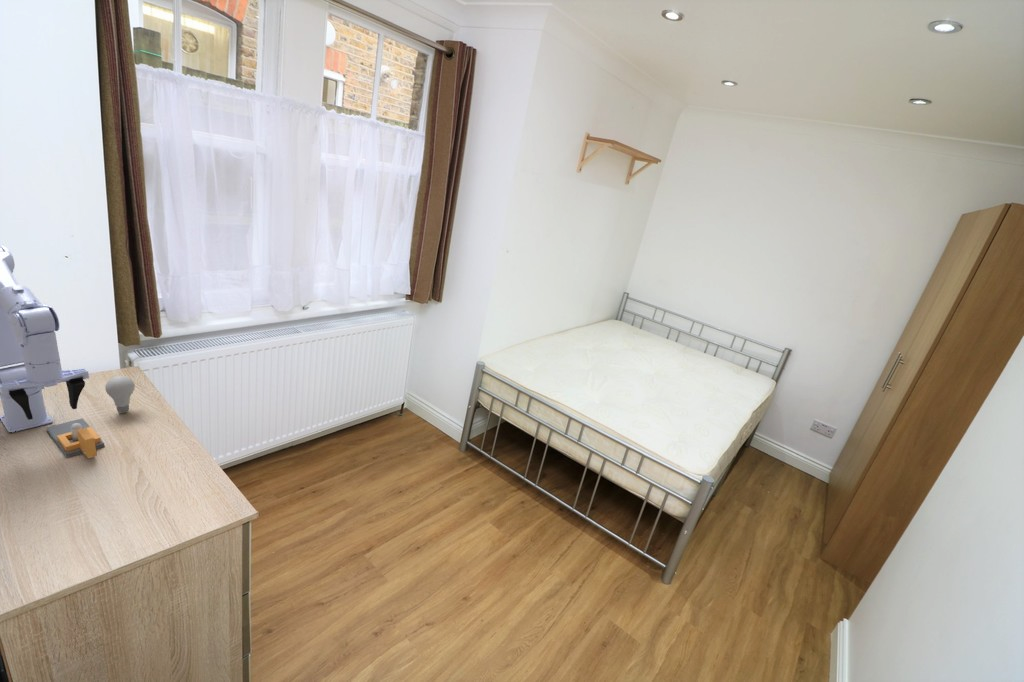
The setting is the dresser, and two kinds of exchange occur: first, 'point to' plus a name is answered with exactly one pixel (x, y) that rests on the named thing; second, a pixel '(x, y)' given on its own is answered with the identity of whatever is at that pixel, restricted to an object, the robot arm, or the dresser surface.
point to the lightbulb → (120, 392)
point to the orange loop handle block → (81, 441)
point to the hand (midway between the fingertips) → (52, 412)
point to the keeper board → (66, 430)
